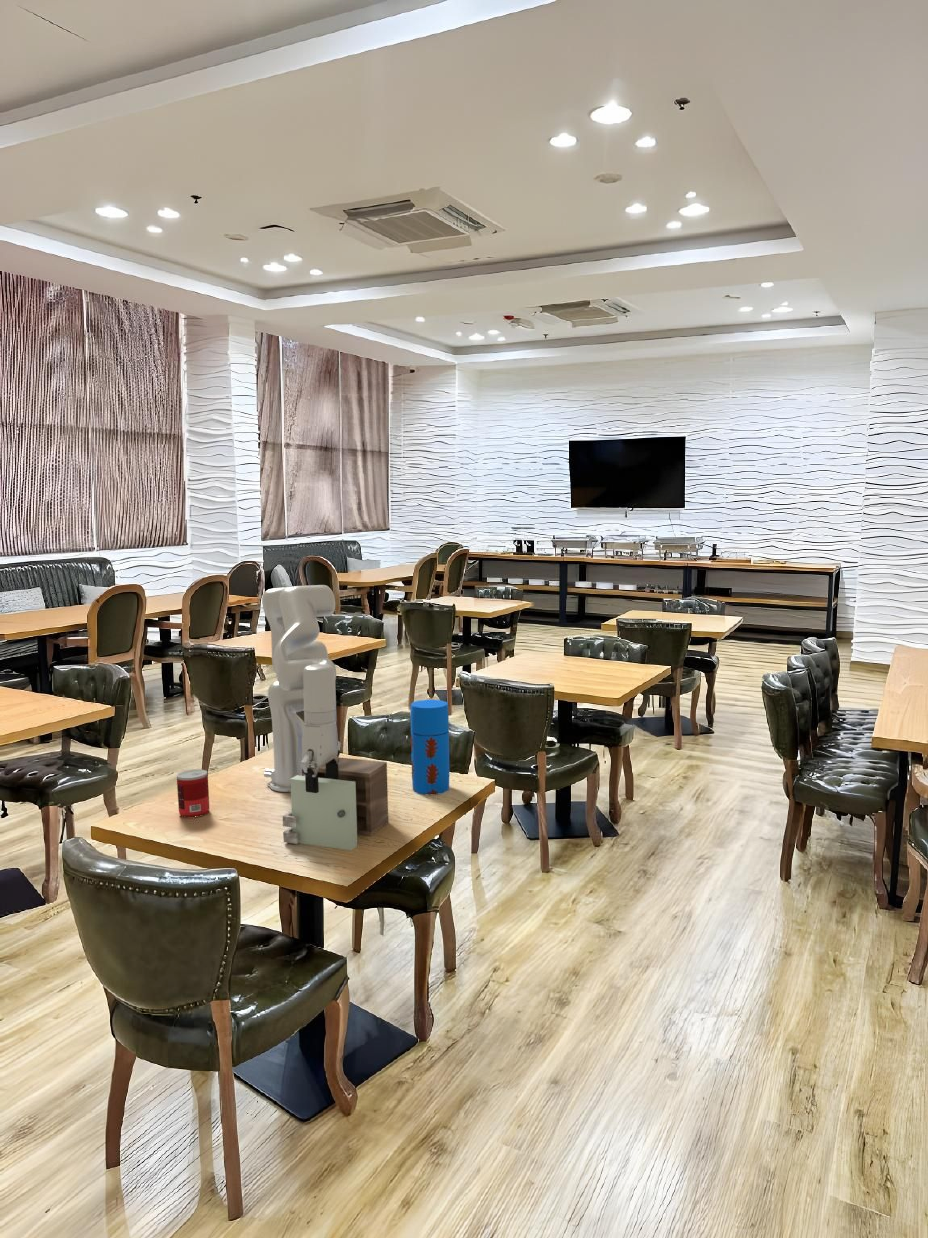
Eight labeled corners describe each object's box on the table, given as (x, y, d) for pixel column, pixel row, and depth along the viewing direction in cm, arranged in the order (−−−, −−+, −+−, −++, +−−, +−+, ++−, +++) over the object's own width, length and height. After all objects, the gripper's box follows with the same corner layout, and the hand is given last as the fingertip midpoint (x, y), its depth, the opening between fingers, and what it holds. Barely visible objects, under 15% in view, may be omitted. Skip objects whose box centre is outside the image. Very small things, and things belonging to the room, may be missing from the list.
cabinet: (280, 843, 211) (277, 779, 209) (323, 814, 231) (321, 755, 229) (350, 853, 205) (348, 787, 202) (388, 822, 224) (386, 762, 222)
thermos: (414, 796, 244) (412, 709, 241) (410, 784, 255) (408, 700, 251) (452, 793, 246) (451, 707, 242) (447, 781, 256) (445, 698, 253)
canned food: (215, 810, 235) (213, 770, 233) (195, 820, 228) (192, 779, 226) (193, 806, 238) (191, 767, 237) (172, 816, 231) (170, 776, 229)
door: (290, 843, 211) (288, 780, 209) (299, 837, 215) (296, 775, 213) (349, 852, 206) (347, 786, 203) (357, 845, 209) (355, 781, 207)
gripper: (324, 706, 216) (326, 772, 218) (287, 724, 200) (289, 795, 202) (351, 709, 213) (353, 776, 216) (316, 727, 197) (318, 799, 200)
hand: (322, 785), depth 209 cm, fingers open, 9 cm apart
